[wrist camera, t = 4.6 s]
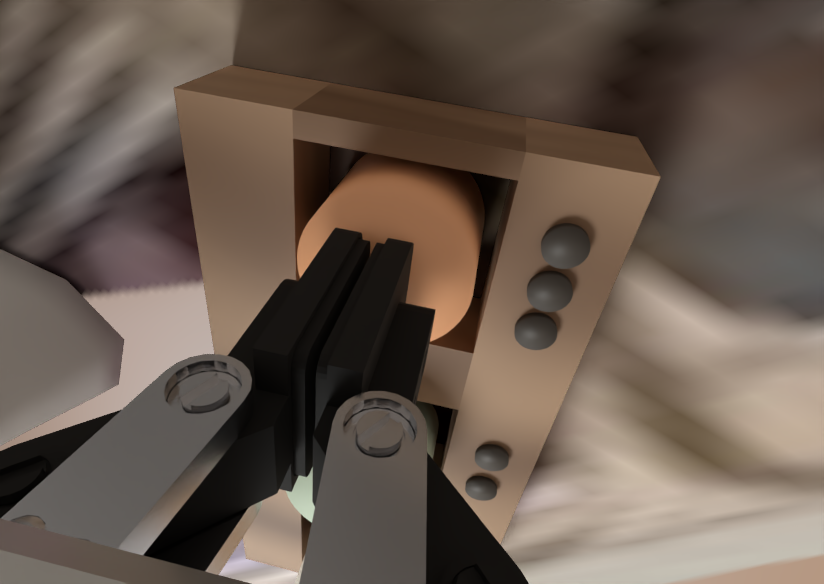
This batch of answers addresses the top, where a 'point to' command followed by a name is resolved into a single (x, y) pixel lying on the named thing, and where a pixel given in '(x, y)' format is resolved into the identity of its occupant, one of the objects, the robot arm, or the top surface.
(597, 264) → the panel
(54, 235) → the top surface
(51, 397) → the flask
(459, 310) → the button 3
